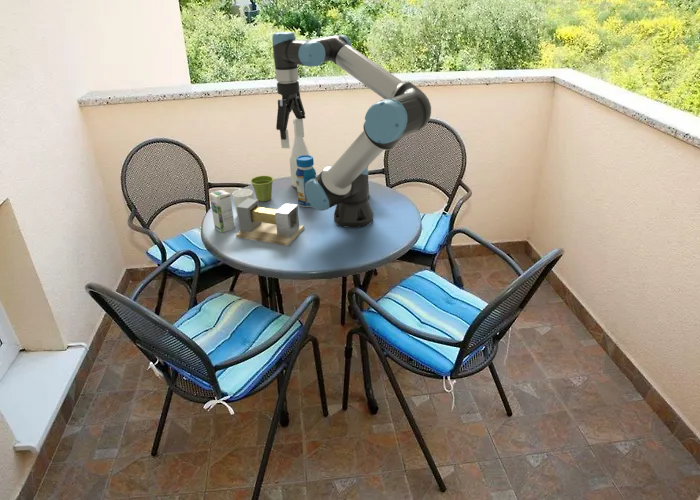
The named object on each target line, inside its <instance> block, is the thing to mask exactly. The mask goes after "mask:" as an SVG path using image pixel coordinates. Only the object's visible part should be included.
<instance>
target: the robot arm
mask: <svg viewBox="0 0 700 500" xmlns="http://www.w3.org/2000/svg"><path fill="white" fill-rule="evenodd" d="M271 40H272V42H271V43H272V53H273V61H274V68H275V69H274V70H275V71H274V75H275V80H276V81H277V82H276V90H277V94H278V95H281V99H277V117H276V126H275V129H276V130H277V131H279V134H280V135H279V136H280V142H281V144H280V145H281V149H290V137H289V129H288V123H289V119H290V113H291V112H292V113H293V114H294V116H295V118H297V119H295V123H296V134H297V137H303V138H305V129H304V119H306V112H305V108H304V105H303V102H302V99H301V94H300V82H299V81H298V80H299V68H298V65H299V66H305V67H310V68H312V67H319V66H321V65H322V64H323V63H325V62H327V63H328V62H332V63H333V64H334V65H337V66H338V67H339V68H340V69H342V70H343V71H345V72H346V73H348V75H350V76H352V78H354V79H356V80H357V81H358V82H360V83H362V84H363V85H364V86H365V87H367V88H368V89H369V90H371V91H373V92H374V93H375V94H377V95H378V96H380V97H381V98H382V99H381V100H379V101H376V103H374V104H372V105H371V106H369V108H368V109H367V111H366V113H365V116H364V120H365V121H364V123H363V126H362V127H363V131H361V133H360V134H359V135H358V137H357V138H356V139H355V140H354V141H353V142H352V143H351V145H349V146H348V148H347V149H346V150H345V151H344V152H343V153H342V154H341V156H340V157H339V158H338V159H337V160H336V161H335V163H334V164H333V165H328V166H326V167H324V169H322V170H321V172H320V173H319V174H318V175H317V176H316V178H314V179H310V180H309V181H308V182H307V183H306V185H305V193H306V197H307V200H308V201H309V203H310V204H311V206H312V207H311V208H313V209H315V210H317V211H320V212H322V211H326V210H329V209H331V208H332V207H334V206H335V209H334V212H333V221H334V223H335V224H336V225H338V226H341V227H344V228H348V229H349V228H350V229H351V228H353V229H355V228H362V227H365V226H368V225H370V224H371V223H372V222H373V220H374V213H373V210H372V207H371V204H370V201H369V195H368V184H369V175H370V174H369V165H371V164H372V163H373V161H375V160H376V159H377V158H378V156H380V155H381V153H382V152H383V151H390V150H392V149H393V148H394V147H395V146H397V144H398V143H399V142H400V141H402V140H403V138H405V137H406V136H408V135H411V134H413V133H415V132H418V131H420V130H421V129H423V128H425V126H427V125H428V122H429V121H430V120H431V116H432V105H431V103H430V102H431V101H430V99H429V97H428V96H427V95H426V93H424V91H422V89H420V88H419V87H418V86H416V85H415V84H413V83H411V81H410V82H409V81H406V82H404V81H402V80H401V79H400V78H398V76H397V77H396V76H395V75H394V74H392V73H391V72H389V71H388V70H386V69H385V68H384V67H382V66H381V65H379V64H377V63H376V62H375V61H374V60H371V59H370V58H369V57H367V56H366V55H364V54H363V53H361V52H360V51H359V50H357V49H356V48H354V47H353V46H352V42H351V41H350V39H349V37H347V35H343V34H333V35H329V36H323V37H318V38H312V39H296V34H295V32H293V31H279V32H274V33H273V34H272V39H271Z"/></svg>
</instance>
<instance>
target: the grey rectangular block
mask: <svg viewBox="0 0 700 500" xmlns="http://www.w3.org/2000/svg"><path fill="white" fill-rule="evenodd" d="M298 206H299V204H294V203H287V202H286V203H283V205H281V206H280V207H279V208H278V209H277V211H276V212H275V218H276V227H277V237H282V238H288V239H290V238H291V237H292V236H293V235H294V234H295V233H296V232H297V231H298V230H299V225H300V221H299V220H300V219H299V218H300V217H299V207H298Z"/></svg>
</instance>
